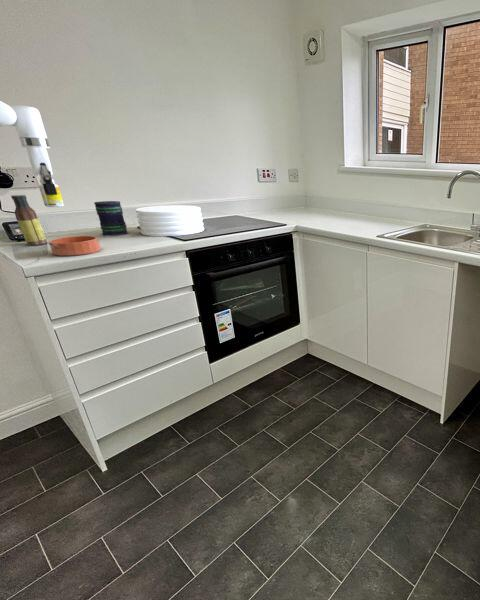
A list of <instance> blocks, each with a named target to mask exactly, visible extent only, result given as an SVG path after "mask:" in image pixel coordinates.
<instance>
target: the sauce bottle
mask: <svg viewBox="0 0 480 600" xmlns="http://www.w3.org/2000/svg"><path fill="white" fill-rule="evenodd" d="M10 197H11V199H12V200H13V204H14V206H15V209H14V215H15V219H16V221H17V224H18V226H19V229H20V231H21V233H22V236H23V237H24V238H23V239H24V240H25V242H26V244H27V245H29V246H41V245H45V244H47V243H48V240H47V237H46V234H45V232H44V229H43V227H42V224H41V221H40V219H39V218H38V216H37V212H36V210H35V209H33V208H32V207H31V206H30V205H29V202H28V200H27V196H26V194H12V195H10Z"/></svg>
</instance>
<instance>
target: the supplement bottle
mask: <svg viewBox="0 0 480 600" xmlns="http://www.w3.org/2000/svg"><path fill="white" fill-rule="evenodd" d="M44 181H45V180H44ZM52 181H53V184H54V185H55V188H56V191H57V195H46V193H45V190H44V187H43V181H42V179H41V178H40V179H39V183H40V184H39V185H38V189H39V191H40V195H41V198H42V201H43V204H44V207H46V208H62V207H64V206H65V203H64V200H63V195H62V193H61V190H60V187H59V185H58V184H56V183H55V180H54V179H53V178H52Z"/></svg>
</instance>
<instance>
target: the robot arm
mask: <svg viewBox="0 0 480 600" xmlns="http://www.w3.org/2000/svg"><path fill="white" fill-rule="evenodd" d="M0 127H15V129H16V131H17V132H16V133H17V135H18V139H19V143H20V146H21V148H26V151H27V156H28V159H29V163H30V165H31V168H32V173H33V174H34V175H35V176H36V177H38V176H39V178H40V179H42V181H43V187H44V190H45V193H46V195H57V191H56V188H55V185H54V184H55V183H54V184H53V181H52V179H53V178H52V176H53V174H54V172H53V168H52V164H51V161H50V156H49V152H48V150H47V149H51V147H50V142H49V139H48V134H47V133H46V129H45V126H44V122H43V120H42V115H41V112H40V111H39V109H37V108H36V107H33V106H30V105H29V106H28V105H19V104H15V105H9V104H7V103H5V102H3V101H1V100H0ZM44 180H45V181H44Z"/></svg>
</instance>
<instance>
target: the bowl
mask: <svg viewBox="0 0 480 600" xmlns="http://www.w3.org/2000/svg"><path fill="white" fill-rule="evenodd" d="M48 244H49V247H50V250H51V253H52V255H54V256H62V257H75V256H83V255H88V254H94V253H96V252H99V251H101V249H102V247H101V243H100V240H99V237H98V236H96V235H95V236H94V235H73V236H72V235H71V236H64V237H59V238H58V237H57V238H53V239H50V240H49V241H48Z"/></svg>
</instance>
